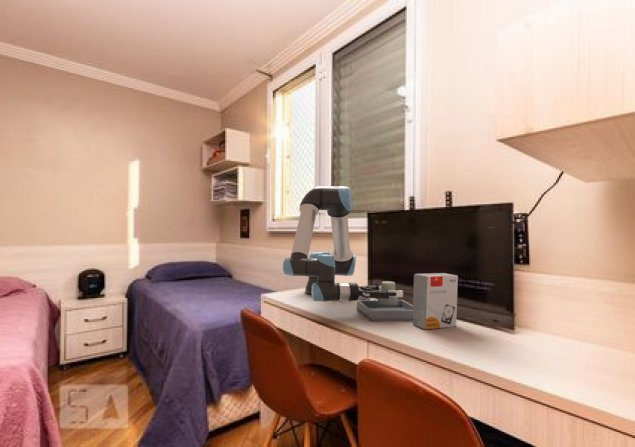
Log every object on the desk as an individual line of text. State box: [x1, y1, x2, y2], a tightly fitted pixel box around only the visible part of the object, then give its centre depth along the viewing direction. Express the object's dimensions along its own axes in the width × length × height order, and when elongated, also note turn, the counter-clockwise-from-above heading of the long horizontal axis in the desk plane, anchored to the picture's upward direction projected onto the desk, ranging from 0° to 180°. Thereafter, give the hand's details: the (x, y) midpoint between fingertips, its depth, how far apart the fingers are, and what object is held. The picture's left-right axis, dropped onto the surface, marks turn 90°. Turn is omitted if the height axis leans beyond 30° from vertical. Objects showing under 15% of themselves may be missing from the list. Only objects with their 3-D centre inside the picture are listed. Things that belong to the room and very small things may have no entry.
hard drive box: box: [411, 272, 459, 330], centre depth 132 cm, size 16×8×20 cm, turn 112°
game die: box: [357, 296, 372, 301], centre depth 165 cm, size 9×8×10 cm
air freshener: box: [377, 280, 399, 307], centre depth 148 cm, size 11×8×10 cm
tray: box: [356, 299, 413, 322], centre depth 148 cm, size 20×22×4 cm
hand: (397, 291), depth 148 cm, fingers closed on air freshener, 10 cm apart
